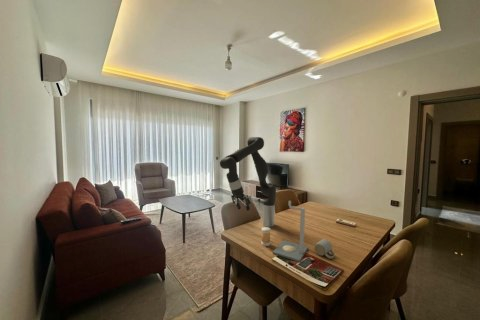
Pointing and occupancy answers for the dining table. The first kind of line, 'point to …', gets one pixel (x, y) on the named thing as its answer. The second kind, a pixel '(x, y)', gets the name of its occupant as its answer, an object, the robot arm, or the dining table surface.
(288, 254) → the stand
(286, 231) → the dining table surface
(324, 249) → the ceramic mug
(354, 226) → the dining table surface
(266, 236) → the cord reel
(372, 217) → the dining table surface
